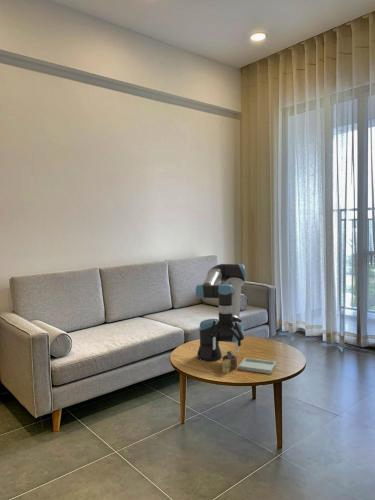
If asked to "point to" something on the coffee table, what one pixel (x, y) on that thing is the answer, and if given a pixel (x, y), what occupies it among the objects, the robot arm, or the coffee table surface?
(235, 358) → the brown octagonal handled piece
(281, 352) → the coffee table surface
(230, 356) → the cylinder
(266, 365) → the tray
